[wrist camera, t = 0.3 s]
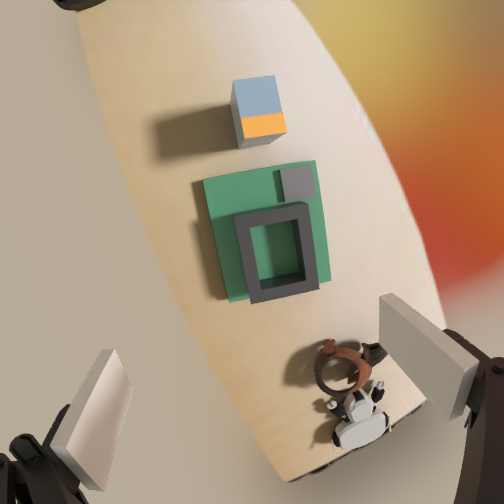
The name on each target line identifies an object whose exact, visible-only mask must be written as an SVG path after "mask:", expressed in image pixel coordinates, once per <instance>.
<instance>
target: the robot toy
mask: <svg viewBox="0 0 504 504" xmlns="http://www.w3.org/2000/svg"><path fill="white" fill-rule="evenodd" d="M385 385H386V382H385V381H379V382H378V383H377V387H374V389H373V392H372V394H371V397H372V399H371V398H370V396H369V395H368V394H367V393H366V392H364V390H363V389H359V390H357V391H355V392H353V393H351V394H349V395H347V397H346V400H345V401H344V404H343V407H344V408H343V407H341V406H340V405H339V404H338V403H337V402H336V401H333V400H332V401H330V403H331V404H329V403H327V408H328V409H330V411H331V412H332V413H333V414H334V415H336V416H337V417H342V420H343V421H342V422H341V423H339V424H338V425H337V426H336V428H335V431H334V432H333V435H332V439H331V442H332V445H333V449H334V454H335V455H336V452H335V448H334V445H336V446H337V447H340V448H342V449H353V448H357V447H360V446H363V445H366V444H368V443H370V442H372V441H373V440H375V439H377V438H378V437H380V436H381V435H382V434H383V433H384V431H385V429H386V427H387V426H388V423H389V431H390V432H391V427H390V420H389V419H390V417H389V416H387V414H386V413H385V412H382V411H381V410H380V409H376V406H375V404H376V403H377V402H378V401H379V400H381V399H382V397H383V394H384V392H385V391H384V389H383V388H384V387H385ZM344 410H345V412H346V414H344ZM333 443H334V444H333Z"/></svg>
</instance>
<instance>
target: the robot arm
mask: <svg viewBox="0 0 504 504" xmlns="http://www.w3.org/2000/svg"><path fill="white" fill-rule="evenodd" d="M53 1H54V2H55V3H56V4H57V5H58V6H59V7H60V8H62V9H65V10H81V9H85V8H89V7H91V6H94V5H97V4H99V3H101V2H103V1H105V0H53ZM379 344H380V345H381V346H382V347H383V348H384V349H385V351H386V352H387V353H388V354H389V355H390V356H391V357H392V358H393V360H394V361H395V362H396V363H397V364H398V365H399V366H400V368H401V369H402V370H403V371H404V372H405V373H406V374H407V376H408V377H409V378H410V379H411V380H412V381H413V383H414V384H415V385H416V386H417V387H418V388H419V390H420V391H421V392H422V393H423V394H424V395H425V397H426V398H427V399H428V400H429V401H430V402H431V404H432V405H433V406H434V407H435V408H436V410H437V411H438V412H439V413H440V414H441V415H442V417H443V418H444V419H445V420H446V422H447V423H449V422H451V421H452V420H453V419H456V418H458V417H459V416H461V415H462V414H463V411H464V408H465V406H466V405H467V406H468V407H469V408H470V409H471V410H470V413H469V416H468V418H467V420H466V423H465V425H464V427H465V428H466V427H467V424H468V429H467V437H466V445H465V451H464V458H463V464H462V469H461V474H460V479H459V484H458V488H457V493H456V497H455V500H454V504H504V358H502V357H495V358H492V359H491V358H489V357H488V356H487V355H485V354H484V353H483V352H482V351H480V350H479V349H478V348H476V347H475V346H474V345H473V344H470V342H468V341H467V340H466V339H464V337H462V336H461V335H460V334H458V333H457V332H455V331H452V330H449V329H445V330H440V329H439V328H438V327H437V326H435V325H434V324H433V323H431V322H430V321H429V320H428V319H426V318H425V317H424V316H422V315H421V314H420V313H418V312H417V311H416V310H415V309H413V308H412V307H411V306H409V305H408V304H407V303H405V302H404V301H403V300H401V299H400V298H399V297H397V296H396V295H395V294H393V293H390V294H387V295H383V296H380V297H379ZM133 393H134V390H133V388H132V386H131V384H130V382H129V380H128V378H127V376H126V373H125V371H124V369H123V367H122V364H121V362H120V360H119V358H118V355H117V353H116V351H115V349H107V350H101V352H100V354H99V355H98V357H97V359H96V361H95V362H94V364H93V366H92V367H91V369H90V371H89V373H88V375H87V376H86V378H85V380H84V382H83V383H82V385H81V387H80V388H79V391H78V392H77V394H76V396H75V398H74V399H73V401H72V403H71V404H67V405H66V406H65V407H64V408H63V409H62V410H61V411H60V412H59V414H58V415H57V417H56V419H55V420H56V421H54V423H53V425H52V428H50V430H49V432H48V434H47V436H46V438H45V440H44V442H43V444H42V446H41V445H40V444H39V443H38V441H37V440H36V439H35V438H34V436H33V435H31V434H21V435H19V436H17V437H15V438H14V440H13V441H12V442H11V444H10V446H9V451H10V452H11V453H12V455H13V456H14V457H15V458H16V459H17V460H18V461H10V459H9V458H8V457H7V456H6V455H5V454H3V453H0V504H16V500H17V504H89V503H88V502H87V500H86V498H85V496H84V494H83V492H82V491H81V490H80V489H79V488H78V487H79V484H80V482H81V483H82V484H83V485H84V486H85V487H86V488H87V489H89V490H96V491H104V490H105V486H106V482H107V478H108V475H109V471H110V467H111V464H112V460H113V457H114V453H115V450H116V447H117V443H118V440H119V436H120V433H121V430H122V427H123V424H124V421H125V417H126V414H127V411H128V408H129V405H130V402H131V399H132V396H133ZM15 499H16V500H15Z"/></svg>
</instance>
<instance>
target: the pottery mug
mask: <svg viewBox="0 0 504 504" xmlns="http://www.w3.org/2000/svg"><path fill="white" fill-rule="evenodd" d="M362 346H363V348H364V350H363V358H364V360H363V359H361V358H360V357H361V353H359V352H357V351H355V350H353V349H349V348H345V347H335V340H334V339H332V340H330V341H328V342H326V343H325V345H324V348H322V349H321V350H320V351H319V353H318V355H317V358H316V360H315V364H314V371H315V374H314V376H315V379H316V381H317V384H318V386H319V388H320V389H321V390H322V391H323V392H325V393H326V394H328V395H331V396H334V397H342V396H347V395H349V394H351V393H353V392H355V391H357V390H358V389H360V388H361V387H362V386H363V385H364V384H365V383H366V382H367V380H368V379H369V377H370V375H371V372H372V367H373V366H375V365H376V364H378V363H379V362H381V361H382V360H383V359H384V358H385V357H386V356H387V355H388V353H387V352H386V351H385V349H384V348H383V347H382V346H381V345H380V344H379V343H374V344H366V343H362ZM334 354H336V357H337V358H346V359H348V360H350V361H352V362H353V363H354V364H355V365H356V366H357V369H358V371H357V372H356V373H354V374H352V375H349V376H348V382H347V383H348V384H351V383H354V382H356V383H355V384H354V385H353V386H352V387H351V388H349V389H347V390H343V391H336V390H332V389H330V388H329V387H327V386H326V385H325V384H324V382H323V380H322V378H321V371H322V368H323V366H324V365H325V364H326V363H327V362H328V361H329V360H330V359H329V356H332V355H334Z"/></svg>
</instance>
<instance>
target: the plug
mask: <svg viewBox="0 0 504 504" xmlns="http://www.w3.org/2000/svg"><path fill="white" fill-rule="evenodd" d="M230 106H231V111H232V117H233V122H234V127H235V133H236V138H237V143H238V148H239V149H240V148H246V147H251V146H257V145H264V144H270V143H271V142H273V141H274V140H276V139H277V138H279V137H281V136H282V135H284V134H285V133H287V131H286V126H285V121H284V116H283V113H282V108H281V104H280V99H279V94H278V89H277V85H276V80H275V75H273V76H264V77H256V78H248V79H241V80H234V81H233V86H232V93H231V101H230Z"/></svg>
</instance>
